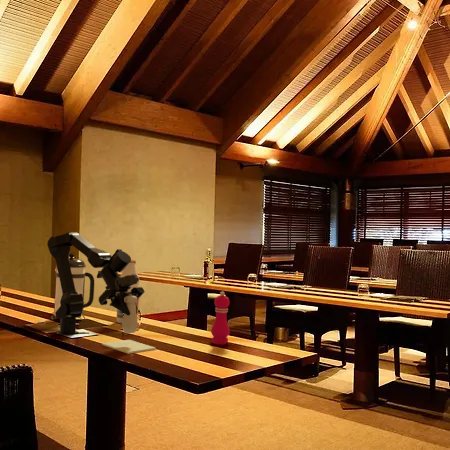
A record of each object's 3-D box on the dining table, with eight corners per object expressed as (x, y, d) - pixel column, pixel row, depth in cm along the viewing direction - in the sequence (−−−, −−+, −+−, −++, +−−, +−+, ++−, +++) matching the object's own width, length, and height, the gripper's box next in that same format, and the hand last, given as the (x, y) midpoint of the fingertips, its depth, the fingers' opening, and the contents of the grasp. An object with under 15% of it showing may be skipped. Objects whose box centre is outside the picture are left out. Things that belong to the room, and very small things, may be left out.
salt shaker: (121, 330, 197) (123, 294, 197) (137, 330, 198) (139, 295, 198) (121, 333, 191) (123, 297, 191) (137, 333, 192) (139, 297, 192)
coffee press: (82, 324, 234) (86, 254, 234) (45, 321, 234) (49, 252, 234) (92, 317, 251) (96, 252, 251) (58, 315, 251) (62, 251, 252)
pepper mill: (232, 342, 212) (234, 291, 212) (224, 345, 205) (227, 293, 205) (215, 340, 215) (218, 289, 215) (207, 343, 208) (210, 291, 208)
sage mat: (102, 344, 196) (102, 343, 196) (129, 341, 204) (129, 339, 204) (128, 353, 185) (128, 352, 185) (155, 349, 193) (155, 347, 193)
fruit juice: (135, 320, 249) (139, 259, 249) (138, 324, 240) (142, 261, 240) (115, 320, 246) (118, 259, 246) (117, 324, 237) (120, 260, 237)
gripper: (106, 267, 189) (127, 302, 183) (142, 265, 205) (163, 298, 199) (89, 286, 193) (109, 322, 187) (126, 284, 209) (145, 316, 203)
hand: (133, 314), depth 194 cm, fingers closed on salt shaker, 3 cm apart
